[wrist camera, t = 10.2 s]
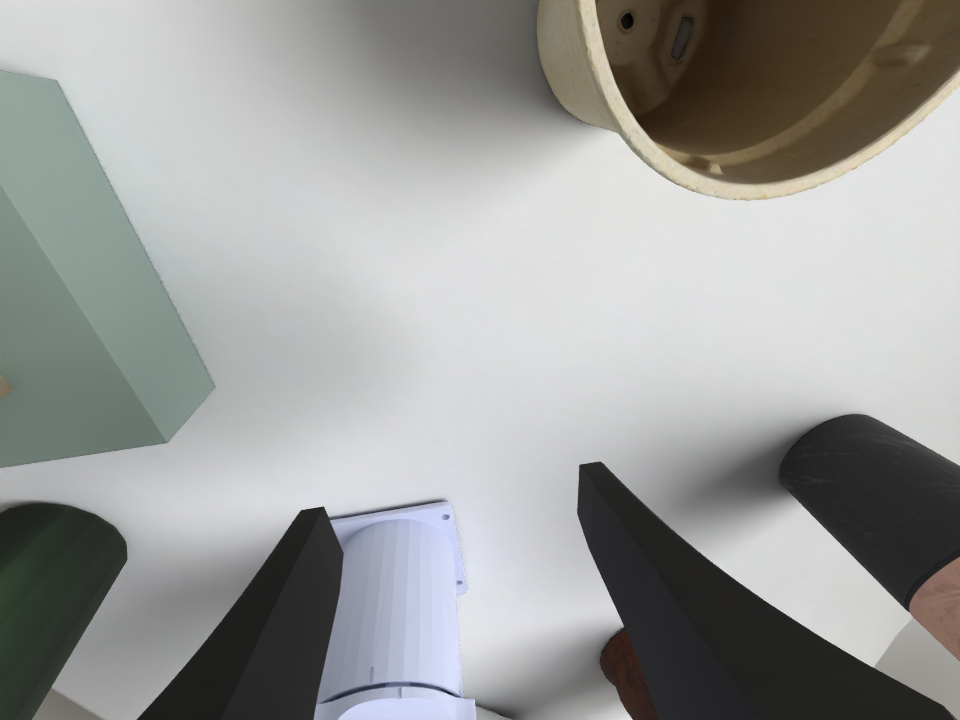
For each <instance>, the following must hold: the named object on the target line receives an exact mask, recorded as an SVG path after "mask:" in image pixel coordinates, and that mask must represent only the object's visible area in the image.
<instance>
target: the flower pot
mask: <svg viewBox="0 0 960 720" xmlns="http://www.w3.org/2000/svg"><path fill="white" fill-rule="evenodd" d="M627 13H630V14H631V15H632V17H633V25H632V26H631V27H630V28H628V29H625V28H623V26H622V23H621V19H622V17H623V16H624V15H625V14H627ZM683 17H690V18H691V19H692V29H691V33H690V35H689V38H688V40H687V42H686V44H685V45H684V48H683V53H682V55H681V56H680V57H679V58H678V59H677V58H676V57H673V56H672V51H673V48H674V45H675V41H676V37H677V35H678V32H679V28H680V25H681V19H682V18H683ZM537 44H538V53H539V58H540V62H541V65H542V68H543V71H544V73H545V76H546V78H547V81H548V83H549V85H550V87H551V89H552V91H553V93H554V94H555V96H556V98H557V99H558V100H559V102H560V103H561V105H562V106H563V107H564V108H565V109H566V110H567V111H568V112H569V113H571V114H572V115H573V116H575V117H576V118H578V119H580V120H581V121H583V122H585V123H588V124H591V125H594V126H598V127H601V128H604V129H607V130H610V131H613V132H616V133H619V135H620V136H621V137H622V139H623V140H624V141H625V142H626V144H627V145H628V146H629V147H630V149H631V150H632V151H633V152H634V153H635V154H636V155H637V156H638V157H639V158H640V159H641V160H643V161H644V162H645V163H646V164H647V165H648V166H649V167H651V168H652V169H653V170H655V171H656V172H657V173H658V174H660V175H661V176H663V177H664V178H666V179H668V180H669V181H671V182H673V183H675V184H677V185H679V186H682V187H684V188H686V189H688V190H691V191H694V192H697V193H700V194H703V195H706V196H711V197H717V198H722V199H728V200H747V201H748V200H765V199H772V198H777V197H783V196H790V195H793V194H796V193H799V192H802V191H805V190H809V189H812V188H816V187H817V186H818V185H821V184H824V183H826V182H830V181H832V180H834V179H836V178H838V177H840V176H842V175H844V174H846V173H847V172H849V171H851V170H853V169H856V168H857V167H858V166H860V165H861V164H862V163H865V162H866V161H868V160H870V159H872V158H873V157H874V156H877V155H879V154H880V153H881V152H883V151H884V150H886V149H887V148H889V147H890V146H892V145H893V144H894V143H896V142H897V141H898V140H899V139H900V138H901V137H903V136H904V135H906V134H907V133H908V132H909V131H910V130H912V129H913V128H914V127H915V126H916V125H917V124H919V123H920V122H922V121H923V120H924V119H925V118H926V117H927V116H928V115H929V114H930V113H931V112H932V111H934V110H935V109H936V108H937V107H938V106H939V105H940V104H941V103H942V102H943V101H944V100H946V99H947V98H948V97H949V96H950V95H951V94H952V92H953V91H954V90H955V89H956V88H958V87H959V86H960V0H539V5H538V13H537Z"/></svg>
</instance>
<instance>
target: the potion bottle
mask: <svg viewBox="0 0 960 720" xmlns="http://www.w3.org/2000/svg"><path fill="white" fill-rule="evenodd" d="M126 561H127V545H126V542H125V540H124V538H123V537H122V536H121V534H120V533H119V532H118V530H117V529H116V528H115V527H114V526H113V525H111V524H109V523H108V522H106V521H105V520H103V519H102V518H100V517H98V516H97V515H94V514H92V513H89V512H86V511H83V510H80V509H77V508H74V507H70V506H61V505H53V504H37V505H28V506H20V507H15V508H10V509H8V510H6V511H4V512H2V513H0V720H32V718H33V717H34V715H35V713H36V712H37V710H38V708H39V707H40V705H41V703H42V702H43V700H44V698H45V697H46V695H47V693H48V692H49V690H50V688H51V687H52V685H53V683H54V682H55V680H56V678H57V677H58V675H59V673H60V672H61V670H62V668H63V667H64V665H65V663H66V662H67V660H68V658H69V657H70V655H71V653H72V651H73V650H74V648H75V646H76V645H77V643H78V641H79V640H80V638H81V636H82V635H83V633H84V631H85V630H86V628H87V626H88V625H89V623H90V621H91V620H92V618H93V616H94V615H95V613H96V611H97V610H98V608H99V606H100V605H101V603H102V601H103V600H104V598H105V596H106V595H107V593H108V591H109V590H110V588H111V586H112V585H113V583H114V581H115V580H116V578H117V576H118V574H119V573H120V571H121V569H122V568H123V566H124V564H125V563H126Z"/></svg>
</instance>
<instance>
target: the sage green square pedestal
mask: <svg viewBox="0 0 960 720" xmlns="http://www.w3.org/2000/svg"><path fill="white" fill-rule="evenodd" d="M214 388H215V385H214V383H213V381H212V379H211V377H210V375H209V373H208V371H207V369H206V367H205V365H204V364H203V362H202V360H201V358H200V356H199V354H198V352H197V350H196V348H195V346H194V344H193V342H192V340H191V338H190V336H189V335H188V333H187V331H186V329H185V327H184V325H183V323H182V321H181V319H180V317H179V315H178V313H177V311H176V309H175V308H174V306H173V304H172V302H171V300H170V298H169V296H168V294H167V292H166V290H165V288H164V286H163V284H162V282H161V280H160V279H159V277H158V275H157V273H156V271H155V269H154V267H153V265H152V263H151V261H150V259H149V257H148V255H147V253H146V251H145V250H144V248H143V246H142V244H141V242H140V240H139V238H138V236H137V234H136V232H135V230H134V228H133V226H132V224H131V222H130V221H129V219H128V217H127V215H126V213H125V211H124V209H123V207H122V205H121V203H120V201H119V199H118V197H117V195H116V193H115V192H114V190H113V188H112V186H111V184H110V182H109V180H108V178H107V176H106V174H105V172H104V170H103V168H102V166H101V165H100V163H99V161H98V159H97V157H96V155H95V153H94V151H93V149H92V147H91V145H90V143H89V141H88V139H87V137H86V136H85V134H84V132H83V130H82V128H81V126H80V124H79V122H78V120H77V118H76V116H75V114H74V112H73V110H72V108H71V107H70V105H69V103H68V101H67V99H66V97H65V95H64V93H63V91H62V89H61V87H60V85H59V83H58V81H56V80H51V79H45V78H39V77H34V76H28V75H22V74H16V73H11V72H5V71H0V468H3V467H10V466H17V465H23V464H30V463H37V462H43V461H50V460H57V459H63V458H70V457H77V456H83V455H90V454H97V453H104V452H110V451H117V450H124V449H130V448H137V447H144V446H150V445H157V444H164V443H168V442H169V441H170V439H171V438H172V437H173V436H174V435H175V434H176V432H177V431H178V430H179V429H180V428H181V427H182V426H183V424H184V423H185V422H186V421H187V420H188V419H189V417H190V416H191V415H192V414H193V413H194V412H195V410H196V409H197V408H198V407H199V406H200V405H201V404H202V402H203V401H204V400H205V399H206V398H207V397H208V395H209V394H210V393H211V392H212V391H213V390H214Z"/></svg>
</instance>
